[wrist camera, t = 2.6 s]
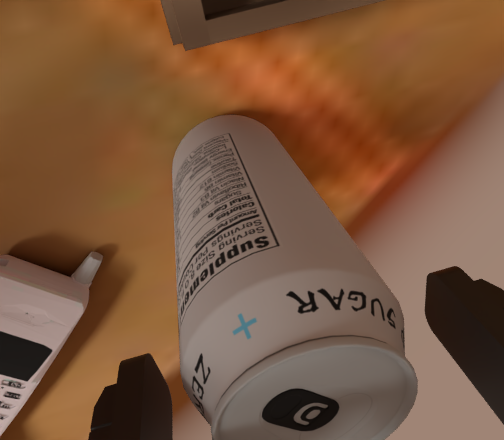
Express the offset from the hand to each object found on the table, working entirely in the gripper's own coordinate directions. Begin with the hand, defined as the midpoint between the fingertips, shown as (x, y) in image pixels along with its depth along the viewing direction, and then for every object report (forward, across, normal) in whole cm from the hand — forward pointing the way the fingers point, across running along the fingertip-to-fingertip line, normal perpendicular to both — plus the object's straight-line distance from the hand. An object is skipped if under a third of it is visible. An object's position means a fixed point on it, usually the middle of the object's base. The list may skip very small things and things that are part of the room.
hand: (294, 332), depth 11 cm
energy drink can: (+13, 0, 0) cm, 13 cm away
